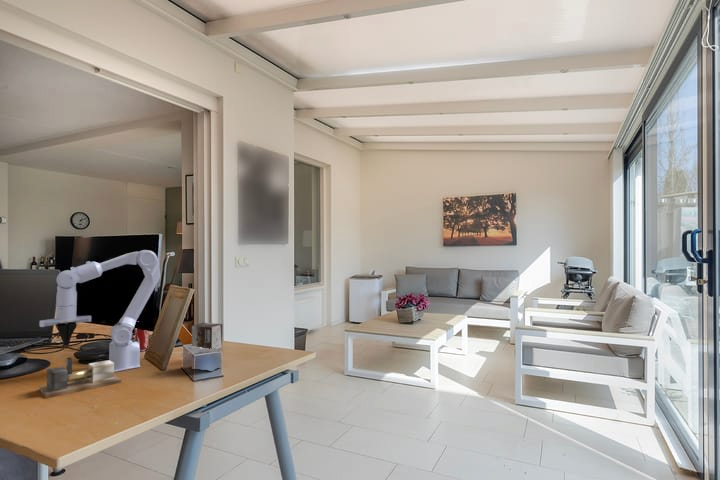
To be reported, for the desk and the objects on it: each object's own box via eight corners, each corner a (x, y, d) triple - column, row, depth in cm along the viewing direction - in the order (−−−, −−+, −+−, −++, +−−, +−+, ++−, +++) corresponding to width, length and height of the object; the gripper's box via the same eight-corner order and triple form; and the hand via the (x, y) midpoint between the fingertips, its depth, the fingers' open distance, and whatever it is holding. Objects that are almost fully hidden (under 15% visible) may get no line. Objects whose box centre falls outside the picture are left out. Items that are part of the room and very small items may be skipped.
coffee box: (222, 367, 155) (223, 323, 155) (211, 372, 149) (212, 326, 149) (202, 364, 158) (203, 322, 158) (190, 369, 152) (191, 325, 152)
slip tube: (89, 376, 136) (89, 353, 136) (91, 378, 134) (92, 355, 134) (55, 383, 129) (56, 359, 129) (57, 385, 127) (58, 360, 128)
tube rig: (111, 375, 144) (111, 356, 144) (121, 382, 137) (121, 362, 137) (39, 389, 129) (39, 368, 129) (46, 398, 122) (46, 375, 123)
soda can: (142, 352, 175) (143, 323, 175) (131, 351, 176) (132, 322, 176) (151, 349, 180) (151, 321, 180) (140, 348, 181) (141, 320, 182)
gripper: (87, 302, 152) (86, 339, 151) (37, 306, 141) (37, 346, 141) (93, 304, 147) (92, 343, 147) (42, 308, 136) (41, 350, 136)
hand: (65, 345), depth 143 cm, fingers closed
